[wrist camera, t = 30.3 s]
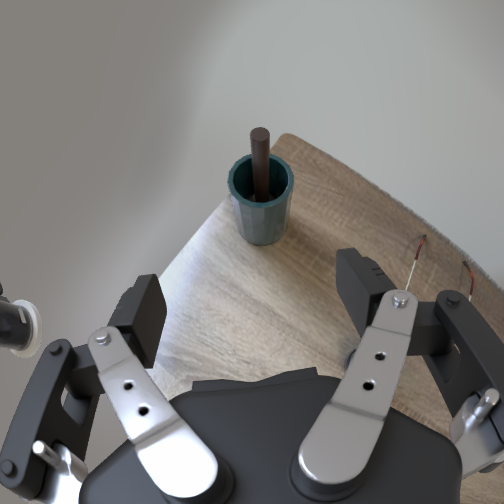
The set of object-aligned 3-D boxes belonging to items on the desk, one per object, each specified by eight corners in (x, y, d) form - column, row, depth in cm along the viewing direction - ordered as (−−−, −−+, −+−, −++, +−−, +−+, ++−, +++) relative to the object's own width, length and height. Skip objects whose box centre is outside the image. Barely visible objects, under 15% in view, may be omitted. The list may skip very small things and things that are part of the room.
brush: (244, 226, 49) (230, 141, 28) (257, 205, 50) (250, 114, 29) (268, 237, 48) (269, 156, 27) (280, 215, 49) (288, 127, 29)
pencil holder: (228, 232, 50) (215, 191, 36) (252, 193, 52) (247, 144, 39) (273, 254, 48) (275, 218, 35) (294, 213, 50) (303, 167, 37)
